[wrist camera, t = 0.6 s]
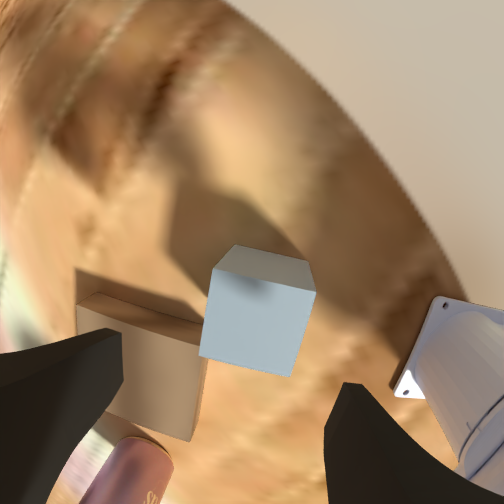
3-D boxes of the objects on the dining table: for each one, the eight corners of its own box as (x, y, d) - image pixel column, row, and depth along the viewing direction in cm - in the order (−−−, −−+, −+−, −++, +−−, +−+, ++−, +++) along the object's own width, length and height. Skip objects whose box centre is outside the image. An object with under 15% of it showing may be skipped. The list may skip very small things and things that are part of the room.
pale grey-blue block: (308, 260, 18) (316, 292, 12) (289, 326, 19) (289, 377, 13) (234, 244, 18) (212, 268, 13) (221, 311, 19) (198, 355, 14)
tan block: (215, 325, 20) (203, 347, 17) (199, 417, 22) (189, 442, 19) (99, 290, 20) (76, 304, 17) (102, 382, 22) (85, 401, 19)
